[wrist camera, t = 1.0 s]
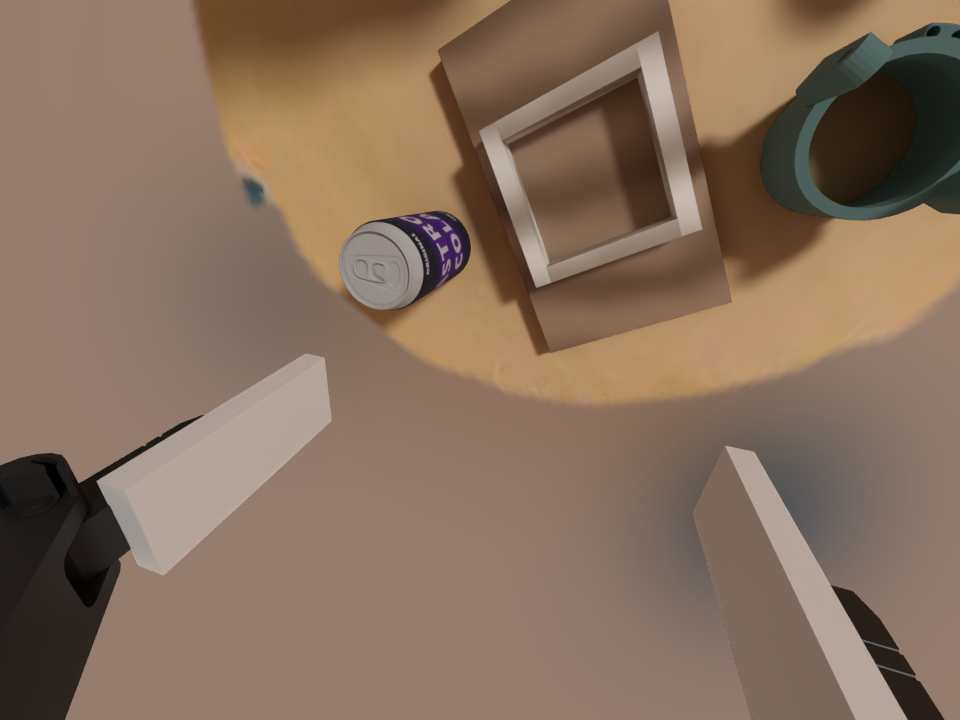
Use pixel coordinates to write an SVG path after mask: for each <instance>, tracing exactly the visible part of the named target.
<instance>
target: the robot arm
mask: <svg viewBox="0 0 960 720" xmlns="http://www.w3.org/2000/svg"><path fill="white" fill-rule="evenodd" d="M327 386H328V385H327V376H326V368H325V358H324V357H319V356H314V355H309V354H305V355H303V356H301V357H299V358H298V359H296V360H295V361H293V362H291V363H290V364H288V365H286V366H285V367H283V368H281V369H280V370H278V371H276V372H275V373H273V374H272V375H270V376H268V377H267V378H265V379H263V380H262V381H260V382H258V383H257V384H255V385H253V386H252V387H250V388H249V389H247V390H245V391H244V392H242V393H240V394H239V395H237V396H235V397H234V398H232V399H230V400H229V401H227V402H226V403H224V404H222V405H221V406H219V407H218V408H216V409H214V410H212V411H211V412H209V413H207V414H206V415H201V416H199V417H196V418H193V419H191V420H188V421H185V422H183V423H180V424H179V425H177V426H175V427H174V428H172V429H170V430H169V431H167V432H165V433H163V434H162V436H161V437H157V438H155V439H153V440H152V441H150V442H148V443H147V444H146V446H142V447H140V448H138V449H136V450H135V451H133V452H131V453H130V454H128V455H126V456H125V457H123V458H121V459H120V460H118V461H116V462H114V463H113V464H111V465H110V466H108V467H106V468H104V469H103V470H101V471H100V472H98V473H96V474H94V475H93V476H91V477H89V478H88V479H86V480H84V481H82V482H80V483H78V481H77V480H76V478H75V476H74V474H73V472H72V470H71V469H70V466H69V465H68V462H67V461H66V459H65V458H64V457H63V456H62V455H59V454H54V453H47V454H36V455H31V456H27V457H23V458H19V459H16V460H13V461H11V462H8V463H5V464H3V465H1V466H0V720H65V718H66V715H67V713H68V710H69V707H70V704H71V702H72V699H73V697H74V694H75V691H76V689H77V686H78V683H79V680H80V678H81V675H82V672H83V669H84V667H85V664H86V662H87V658H88V656H89V654H90V651H91V648H92V645H93V643H94V640H95V637H96V635H97V632H98V629H99V627H100V624H101V621H102V618H103V616H104V613H105V610H106V608H107V605H108V602H109V600H110V597H111V594H112V591H113V589H114V586H115V584H116V581H117V578H118V576H119V573H120V566H121V564H120V561H119V558H120V557H121V556H123V555H124V554H125V553H126V552H127V551H129V550H131V552H132V554H133V556H134V558H135V560H136V562H137V564H138V566H140V567H143V568H146V569H148V570H151V571H153V572H156V573H158V574H161V575H165V574H166V573H167V572H168V571H169V570H170V569H171V568H172V567H173V566H174V565H175V564H177V563H178V561H180V560H181V559H182V558H183V557H184V556H185V555H186V554H187V553H188V552H190V551H191V550H192V549H193V548H194V547H195V546H196V545H197V544H198V543H199V542H200V541H201V540H203V539H204V538H205V537H206V536H207V535H208V534H209V533H210V532H211V531H212V530H213V529H215V528H216V527H217V526H218V525H219V524H220V523H221V522H222V521H223V520H224V519H225V518H226V517H228V516H229V515H230V514H231V513H232V512H233V511H234V510H235V509H236V508H237V507H238V506H239V505H240V504H242V503H243V502H244V501H245V500H246V499H247V498H248V497H249V496H250V495H251V494H252V493H254V491H256V490H257V489H258V488H259V487H260V486H261V485H262V484H263V483H264V482H266V481H267V480H268V479H269V478H270V477H271V476H272V475H273V474H274V473H275V472H276V471H277V470H279V469H280V468H281V467H282V466H283V465H284V464H285V463H286V462H287V461H288V460H289V459H290V458H292V457H293V456H294V455H295V454H296V453H297V452H298V451H299V450H300V449H301V448H302V447H303V446H304V445H306V444H307V443H308V442H309V441H310V440H311V439H312V438H313V437H314V436H315V435H316V434H318V433H319V432H320V431H321V430H322V429H323V428H324V427H325V426H326V425H327V424H328V423H329V422H331V412H330V403H329V394H328V387H327ZM693 516H694V520H695V523H696V527H697V530H698V534H699V537H700V541H701V544H702V548H703V551H704V555H705V558H706V562H707V565H708V569H709V572H710V576H711V579H712V583H713V586H714V590H715V593H716V597H717V600H718V604H719V607H720V611H721V614H722V618H723V621H724V625H725V628H726V632H727V635H728V639H729V642H730V646H731V649H732V653H733V656H734V660H735V663H736V667H737V670H738V674H739V677H740V680H741V684H742V688H743V691H744V695H745V698H746V702H747V705H748V709H749V712H750V716H751V719H752V720H944V719H943V717H942V715H941V714H940V712H939V711H938V709H937V708H936V706H935V704H934V703H933V701H932V700H931V698H930V697H929V695H928V693H927V692H926V690H925V689H924V687H923V686H922V684H921V682H920V681H917V680H916V678H915V673H914V671H913V670H912V668H911V667H910V665H909V664H908V662H907V661H906V659H905V657H904V656H903V655H901V654H899V648H898V647H897V645H896V644H895V642H894V640H893V639H892V637H891V636H890V634H889V633H888V631H887V629H886V628H885V626H884V625H883V623H882V621H881V620H880V619H879V618H878V617H877V616H876V615H875V614H874V612H873V611H872V610H871V609H870V608H869V607H868V606H867V605H866V604H865V603H864V602H863V601H862V600H861V599H860V598H859V597H858V596H857V595H856V594H855V593H854V592H853V591H850V590H846V589H843V588H839V587H835V586H832V585H830V584H829V582H828V580H827V579H826V577H825V575H824V573H823V571H822V570H821V568H820V566H819V564H818V563H817V561H816V559H815V557H814V556H813V554H812V552H811V550H810V549H809V547H808V545H807V543H806V542H805V540H804V538H803V536H802V535H801V533H800V531H799V529H798V528H797V526H796V524H795V522H794V521H793V519H792V517H791V515H790V514H789V512H788V510H787V509H786V507H785V505H784V503H783V501H782V500H781V498H780V496H779V495H778V493H777V491H776V489H775V488H774V486H773V484H772V482H771V481H770V479H769V477H768V475H767V474H766V472H765V470H764V469H763V467H762V465H761V463H760V461H759V460H758V458H757V456H756V454H755V453H754V452H752V451H746V450H743V449H738V448H733V447H729V446H724V448H723V451H722V453H721V455H720V457H719V459H718V461H717V463H716V465H715V467H714V469H713V472H712V474H711V476H710V478H709V480H708V482H707V484H706V486H705V489H704V490H703V492H702V494H701V497H700V499H699V501H698V503H697V505H696V507H695V509H694V511H693Z"/></svg>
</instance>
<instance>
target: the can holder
mask: <svg viewBox="0 0 960 720" xmlns="http://www.w3.org/2000/svg"><path fill="white" fill-rule="evenodd" d="M438 53H439V55H440V58H441V61H442V63H443V66H444V69H445V71H446V74H447V77H448V79H449V82H450V85H451V87H452V90H453V93H454V95H455V98H456V101H457V103H458V106H459V109H460V111H461V114H462V117H463V120H464V122H465V125H466V128H467V130H468V133H469V136H470V138H471V141H472V144H473V146H474V149H475V152H476V154H477V157H478V160H479V162H480V165H481V168H482V170H483V173H484V176H485V178H486V181H487V184H488V186H489V189H490V192H491V195H492V197H493V200H494V203H495V205H496V208H497V211H498V213H499V216H500V219H501V221H502V224H503V227H504V229H505V232H506V235H507V237H508V240H509V243H510V245H511V248H512V251H513V253H514V256H515V259H516V261H517V264H518V267H519V270H520V272H521V275H522V278H523V280H524V283H525V286H526V288H527V291H528V294H529V296H530V299H531V302H532V304H533V307H534V310H535V312H536V315H537V318H538V320H539V323H540V326H541V328H542V331H543V334H544V336H545V339H546V342H547V345H548V347H549V350H550V353H552V352H556V351H559V350H563V349H566V348H570V347H574V346H577V345H581V344H584V343H588V342H592V341H595V340H599V339H602V338H606V337H609V336H613V335H617V334H620V333H624V332H627V331H631V330H634V329H638V328H642V327H645V326H649V325H652V324H656V323H660V322H663V321H667V320H670V319H674V318H677V317H681V316H685V315H688V314H692V313H695V312H699V311H702V310H706V309H710V308H713V307H717V306H720V305H724V304H728V303H731V302H732V300H731V295H730V291H729V286H728V281H727V276H726V272H725V267H724V262H723V257H722V253H721V248H720V243H719V238H718V234H717V229H716V224H715V220H714V215H713V210H712V205H711V201H710V196H709V191H708V186H707V182H706V177H705V172H704V167H703V163H702V158H701V153H700V148H699V144H698V139H697V134H696V129H695V125H694V120H693V115H692V111H691V106H690V101H689V96H688V92H687V87H686V82H685V77H684V73H683V68H682V63H681V58H680V54H679V49H678V44H677V39H676V35H675V30H674V25H673V20H672V16H671V11H670V6H669V2H668V0H511V1H509V2H508V3H506V4H505V5H503V6H502V7H500V8H499V9H497V10H496V11H494V12H493V13H492V14H490V15H489V16H487V17H486V18H484V19H483V20H481V21H480V22H478V23H477V24H475V25H474V26H472V27H471V28H470V29H468V30H467V31H465V32H464V33H462V34H461V35H459V36H458V37H456V38H455V39H453V40H452V41H450V42H449V43H447V44H446V45H445V46H443V47H442V48H440V49H439V50H438Z"/></svg>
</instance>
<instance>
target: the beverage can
mask: <svg viewBox="0 0 960 720" xmlns="http://www.w3.org/2000/svg"><path fill="white" fill-rule="evenodd" d="M470 251H471V245H470V239H469V235H468V233H467V231H466V229H465V227H464V226H463V224H462V223H461V222H460V221H459V220H458V219H457V218H456V217H454V216H453V215H451V214H449V213H446V212H442V211H432V212H426V213H419V214H413V215H407V216H400V217H394V218H388V219H381V220H375V221H370V222H367V223H365V224H363V225H361V226H360V227H358V228H357V229H356V230H355V231H354V232H353V234H352V235H351V236H350V237H349V238H348V239H347V240H346V241H345V243H344V244H343V246H342V249H341V252H340V257H339V268H340V274H341V277H342V280H343V282H344V284H345V286H346V288H347V289H348V291H349V292H350V293H351V295H352V296H353V297H354V298H355V299H356V300H357V301H359V302H360V303H362V304H363V305H365V306H367V307H370V308H373V309H378V310H399V309H402V308H405V307H407V306H409V305H411V304H412V303H414V302H415V301H417V300H418V299H420V298H421V297H423V296H425V295H426V294H428V293H429V292H431V291H432V290H434V289H435V288H437V287H439V286H440V285H442V284H443V283H445V282H446V281H448V280H449V279H451V278H453V277H454V276H456V275H457V274H459V273H460V272H461V271H462V270H463V269H464V267H465V266H466V264H467V262H468V260H469V257H470Z"/></svg>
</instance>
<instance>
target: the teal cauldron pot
mask: <svg viewBox="0 0 960 720" xmlns="http://www.w3.org/2000/svg"><path fill="white" fill-rule="evenodd" d="M874 73H879V74H884V75H887V76H889V77H891V78H893V79H895V80H897V81H898V82H899V83H901V84H902V85H903V86H904V87H905V88H906V89H907V91H908V92H909V94H910V95H911V97H912V99H913V102H914V105H915V108H916V126H915V132H914V136H913V139H912V141H911V144H910V147H909V149H908V151H907V152H906V154H905V156H904V158H903V160H902V161H901V162H900V164H899V165H898V166H897V167H896V169H895V170H894V171H893V172H892V173H891V174H890V175H889V176H888V177H887V178H886V179H885V180H884V181H883V182H882V183H881V184H880V185H878V186H877V187H876V188H874V189H873V190H872V191H871V192H869V193H867V194H865V195H864V196H862V197H860V198H859V199H857V200H854V201H852V202H849V203H847V204H845V205H840V204H838V203H836V202H833V201H831V200H829V199H828V198H827V197H826V196H824V195H823V194H822V193H821V192H820V191H819V189H818V188H817V187H816V185H815V184H814V182H813V179H812V177H811V174H810V169H809V161H808V159H809V148H810V144H811V140H812V137H813V134H814V131H815V129H816V127H817V125H818V123H819V121H820V119H821V117H822V116H823V114H824V113H825V111H826V110H827V109H828V107H829V106H830V104H831V103H832V102H833V101H834V100H835V99H836V98H837V97H838V95H841V94H844V93H846V92H849V91H852V90H854V89H856V88H858V87H859V86H861V85H862V84H863V83H864V82H865V81H867V80H868V79H869V78H870V77H871V76H872V75H873V74H874ZM796 94H797V97H796V98H795V99H794V100H793V101H792V102H791V103H790V105H789V106H788V107H787V108H786V109H785V110H784V111H783V112H782V113H781V114H780V115H779V116H778V118H777V119H776V120H775V121H774V123H773V125H772V126H771V128H770V130H769V132H768V134H767V136H766V139H765V142H764V145H763V148H762V154H761V162H760V171H761V176H762V181H763V183H764V185H765V188H766V190H767V192H768V193H769V194H770V196H771V197H772V198H773V199H774V200H775V201H776V202H777V203H779V204H780V205H781V206H783V207H785V208H787V209H789V210H791V211H794V212H798V213H802V214H809V215H816V216H823V217H831V218H838V219H845V220H862V221H864V220H873V219H881V218H885V217H889V216H893V215H897V214H900V213H902V212H905V211H908V210H910V209H913V208H915V207H917V206H919V205H921V204H923V203H925V204H926V205H928V206H930V207H932V208H933V209H935V210H937V211H939V212H941V213H950V214H960V25H957V24H951V23H931V24H928V25H926V26H924V27H922V28H920V29H918V30H916V31H914V32H912V33H910V34H908V35H906V36H904V37H902V38H900V39H897V40H896V41H895V42H894V44H893V45H891V46H889V47H888V46H887V45H886V44H885V43H883V42H882V41H881V40H880V39H879V38H877V37H876V36H875V35H874V34H873V33H872V32H870V33H868V34H867V35H865V36H863V37H861V38H860V39H858V40H856V41H854V42H852V43H851V44H849V45H847V46H845V47H843V48H842V49H840V50H838V51H836V52H834V53H833V54H831V55H829V56H827V57H826V58H824V59H823V61H822V62H821V63H820V64H819V65H818V66H817V67H816V68H815V69H814V70H813V71H812V73H811V74H810V75H809V76H808V77H807V78H806V79H805V80H804V81H803V82H802V83H801V85H800V86H799V87H798V88H797V89H796Z"/></svg>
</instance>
